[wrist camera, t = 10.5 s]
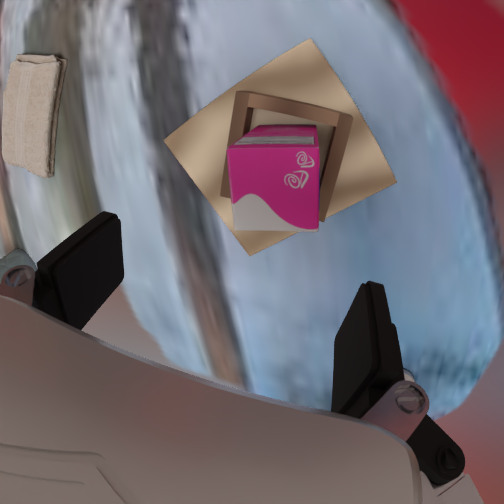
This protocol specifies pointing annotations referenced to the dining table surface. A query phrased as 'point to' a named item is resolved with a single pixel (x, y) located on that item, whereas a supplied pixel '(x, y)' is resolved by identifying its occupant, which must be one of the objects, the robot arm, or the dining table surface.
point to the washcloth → (32, 112)
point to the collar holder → (284, 112)
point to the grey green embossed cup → (15, 261)
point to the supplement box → (275, 178)
